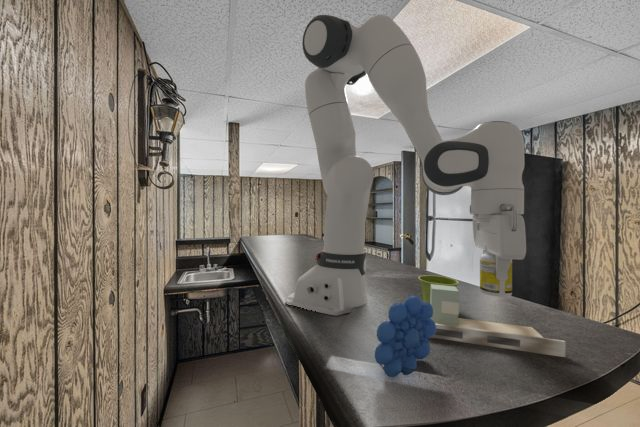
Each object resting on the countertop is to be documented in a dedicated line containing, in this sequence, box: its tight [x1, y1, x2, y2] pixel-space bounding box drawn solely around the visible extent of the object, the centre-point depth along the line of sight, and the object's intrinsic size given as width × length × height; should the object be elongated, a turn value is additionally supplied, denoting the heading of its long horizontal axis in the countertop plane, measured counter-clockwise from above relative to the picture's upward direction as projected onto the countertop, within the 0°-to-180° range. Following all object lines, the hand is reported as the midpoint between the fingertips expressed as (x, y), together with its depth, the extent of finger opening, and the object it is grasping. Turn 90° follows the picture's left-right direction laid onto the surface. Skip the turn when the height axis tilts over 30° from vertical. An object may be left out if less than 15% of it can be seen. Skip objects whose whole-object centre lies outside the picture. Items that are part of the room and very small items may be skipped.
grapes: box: [374, 295, 436, 378], centre depth 44 cm, size 12×7×12 cm, turn 116°
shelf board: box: [431, 317, 567, 358], centre depth 56 cm, size 22×13×4 cm, turn 72°
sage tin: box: [430, 284, 460, 326], centre depth 58 cm, size 4×5×8 cm
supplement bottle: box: [479, 243, 513, 298], centre depth 55 cm, size 5×5×10 cm
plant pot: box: [418, 274, 460, 303], centre depth 70 cm, size 9×9×9 cm
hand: (495, 275), depth 55 cm, fingers closed on supplement bottle, 5 cm apart
